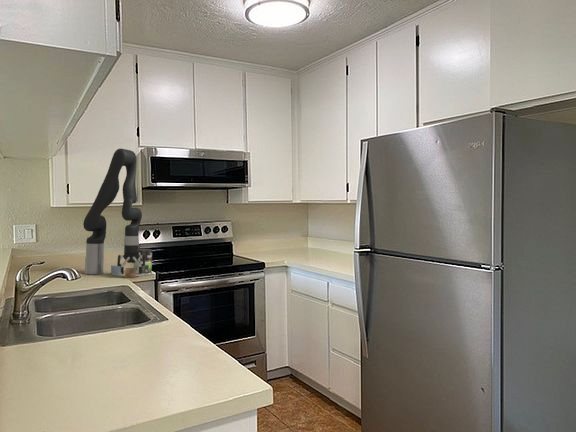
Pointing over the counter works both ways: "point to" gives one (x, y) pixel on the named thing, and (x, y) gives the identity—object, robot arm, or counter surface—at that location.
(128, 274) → the walnut block
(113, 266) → the slate-blue block
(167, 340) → the counter surface
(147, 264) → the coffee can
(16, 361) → the counter surface
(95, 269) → the robot arm
